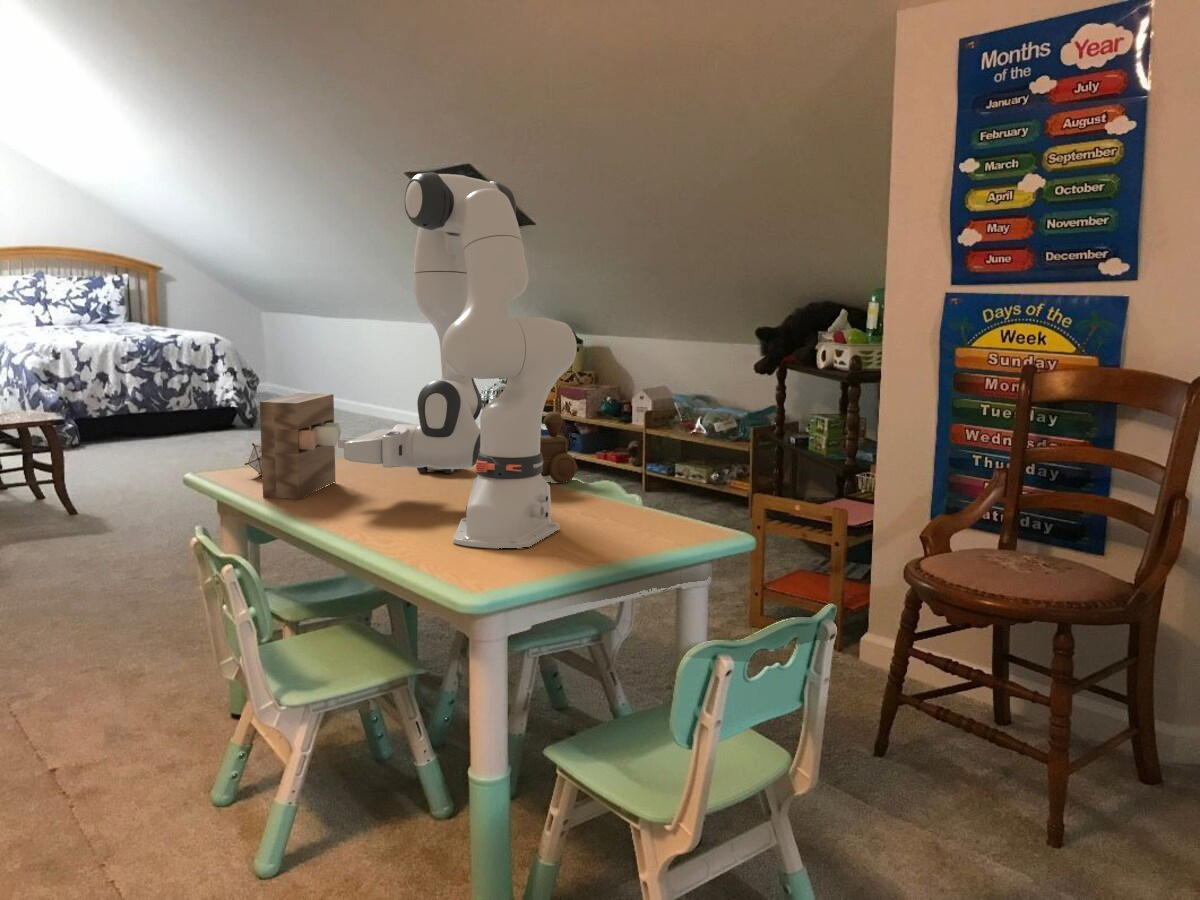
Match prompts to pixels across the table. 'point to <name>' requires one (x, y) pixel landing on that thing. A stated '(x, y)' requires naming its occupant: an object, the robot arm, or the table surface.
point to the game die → (256, 459)
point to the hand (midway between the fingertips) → (340, 442)
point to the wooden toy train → (556, 451)
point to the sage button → (333, 426)
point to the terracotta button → (307, 439)
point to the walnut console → (295, 445)
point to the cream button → (326, 435)
